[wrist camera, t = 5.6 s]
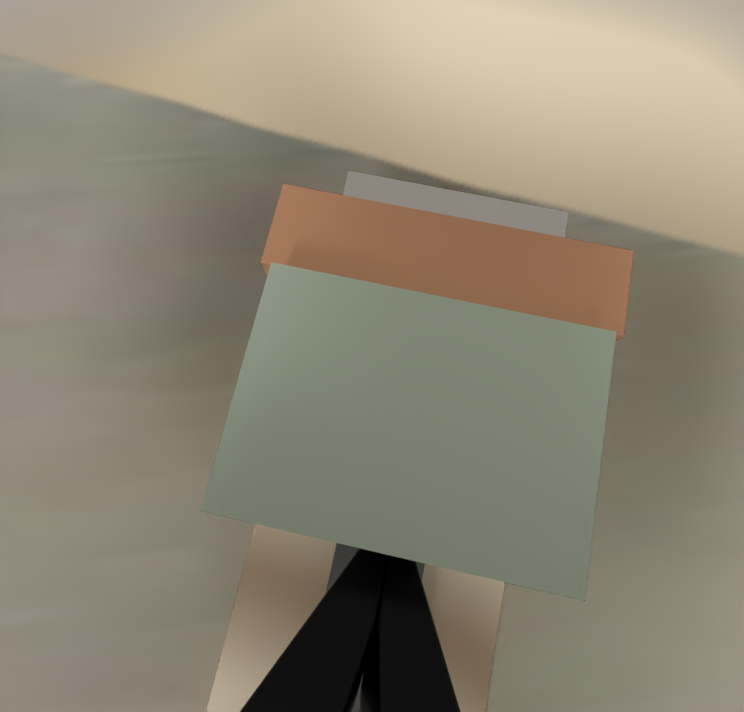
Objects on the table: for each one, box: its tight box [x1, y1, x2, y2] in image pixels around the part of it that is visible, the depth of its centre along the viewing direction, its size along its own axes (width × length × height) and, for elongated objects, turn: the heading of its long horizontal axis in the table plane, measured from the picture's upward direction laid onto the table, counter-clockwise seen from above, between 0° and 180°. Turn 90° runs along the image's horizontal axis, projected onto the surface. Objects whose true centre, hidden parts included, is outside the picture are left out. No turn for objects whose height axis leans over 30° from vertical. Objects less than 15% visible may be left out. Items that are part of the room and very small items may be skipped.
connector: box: [343, 171, 569, 238], centre depth 14 cm, size 1×5×5 cm, turn 78°
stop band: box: [260, 184, 634, 341], centre depth 13 cm, size 2×6×7 cm, turn 78°
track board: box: [206, 524, 505, 712], centre depth 15 cm, size 21×7×2 cm, turn 168°
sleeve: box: [200, 262, 616, 601], centre depth 12 cm, size 4×6×7 cm
